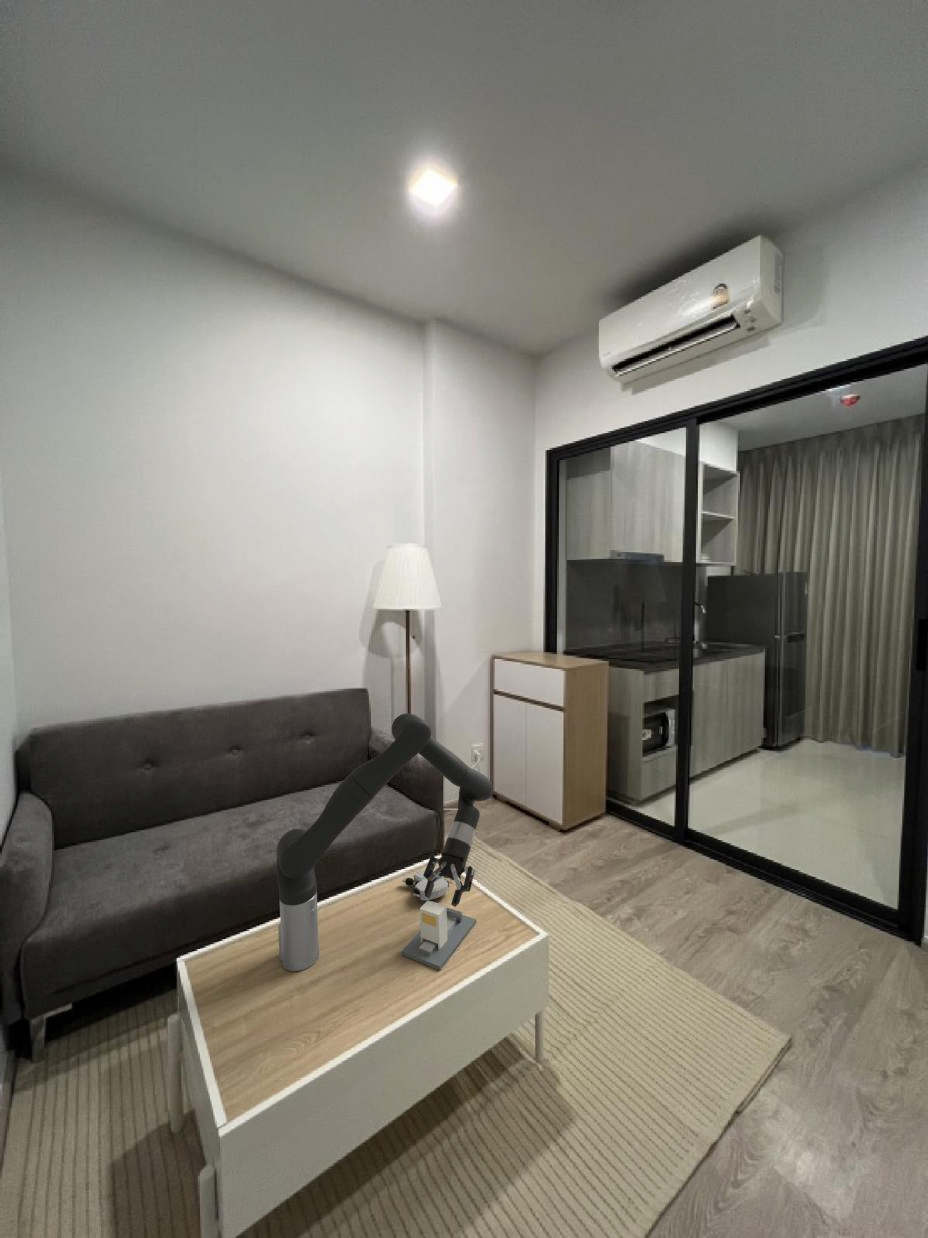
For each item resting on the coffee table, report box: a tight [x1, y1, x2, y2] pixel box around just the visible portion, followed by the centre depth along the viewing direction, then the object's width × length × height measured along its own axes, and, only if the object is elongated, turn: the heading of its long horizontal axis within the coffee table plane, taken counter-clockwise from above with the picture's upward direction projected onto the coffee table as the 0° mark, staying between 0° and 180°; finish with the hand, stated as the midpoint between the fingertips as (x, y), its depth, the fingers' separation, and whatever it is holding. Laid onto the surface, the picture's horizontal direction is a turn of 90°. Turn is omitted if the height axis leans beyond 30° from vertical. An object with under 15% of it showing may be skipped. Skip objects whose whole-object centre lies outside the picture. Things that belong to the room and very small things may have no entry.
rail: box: [419, 907, 463, 956], centre depth 133 cm, size 5×16×2 cm, turn 152°
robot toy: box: [401, 870, 455, 902], centre depth 155 cm, size 12×4×15 cm
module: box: [419, 900, 448, 950], centre depth 130 cm, size 6×4×9 cm
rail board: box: [401, 914, 477, 971], centre depth 133 cm, size 12×20×1 cm, turn 152°
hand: (440, 901), depth 133 cm, fingers open, 8 cm apart
